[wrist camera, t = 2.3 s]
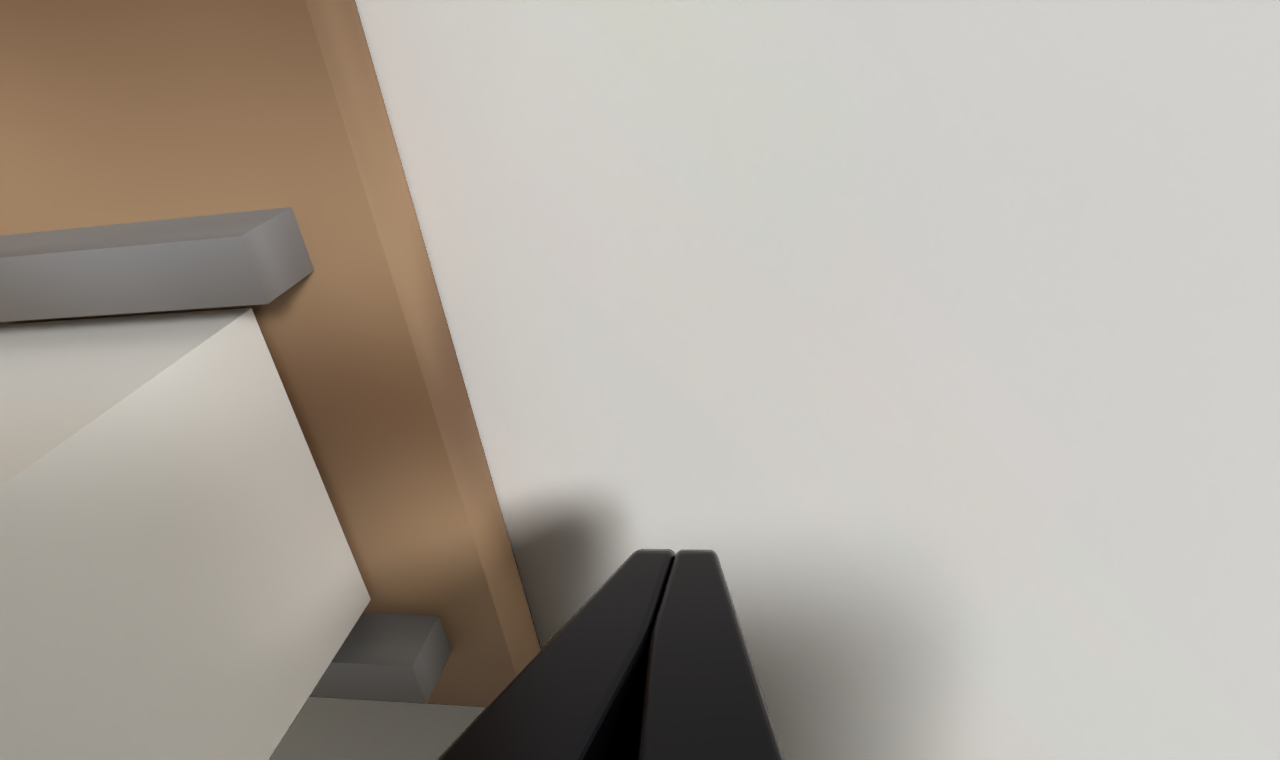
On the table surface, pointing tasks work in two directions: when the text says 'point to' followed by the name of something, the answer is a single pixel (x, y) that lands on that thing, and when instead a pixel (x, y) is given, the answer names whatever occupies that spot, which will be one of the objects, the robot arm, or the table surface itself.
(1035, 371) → the table surface
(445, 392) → the base
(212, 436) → the ivory matte cube
